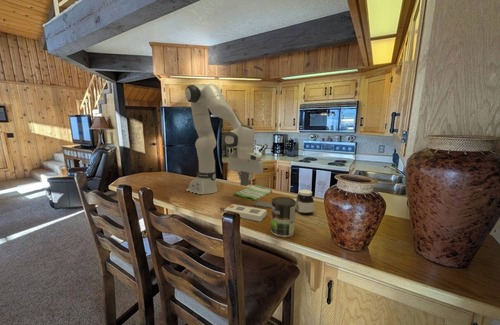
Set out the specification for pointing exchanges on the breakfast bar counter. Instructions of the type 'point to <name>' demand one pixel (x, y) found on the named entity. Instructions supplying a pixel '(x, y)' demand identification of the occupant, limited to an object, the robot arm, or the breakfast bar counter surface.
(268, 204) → the phone slab
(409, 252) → the breakfast bar counter surface
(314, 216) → the breakfast bar counter surface
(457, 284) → the breakfast bar counter surface
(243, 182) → the charger plug
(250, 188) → the dish towel
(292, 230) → the coffee can
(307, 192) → the spread jar
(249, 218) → the power strip
